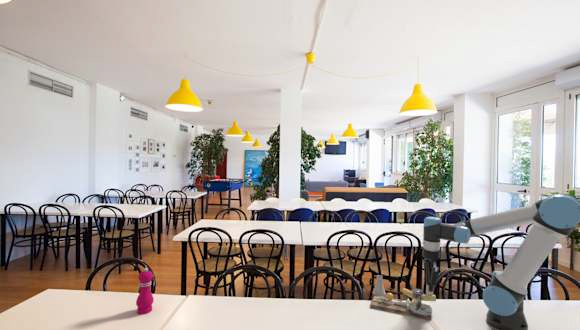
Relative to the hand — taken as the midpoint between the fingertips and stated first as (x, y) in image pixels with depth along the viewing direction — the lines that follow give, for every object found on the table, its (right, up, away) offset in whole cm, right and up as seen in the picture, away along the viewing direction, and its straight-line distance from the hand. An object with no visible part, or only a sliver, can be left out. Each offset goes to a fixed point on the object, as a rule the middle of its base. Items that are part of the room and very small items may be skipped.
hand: (429, 296), depth 144 cm
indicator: (-15, -5, +2) cm, 16 cm away
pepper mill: (-135, -3, -8) cm, 136 cm away
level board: (-13, -6, +2) cm, 15 cm away
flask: (-20, -6, +17) cm, 27 cm away
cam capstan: (-5, -5, -1) cm, 7 cm away
